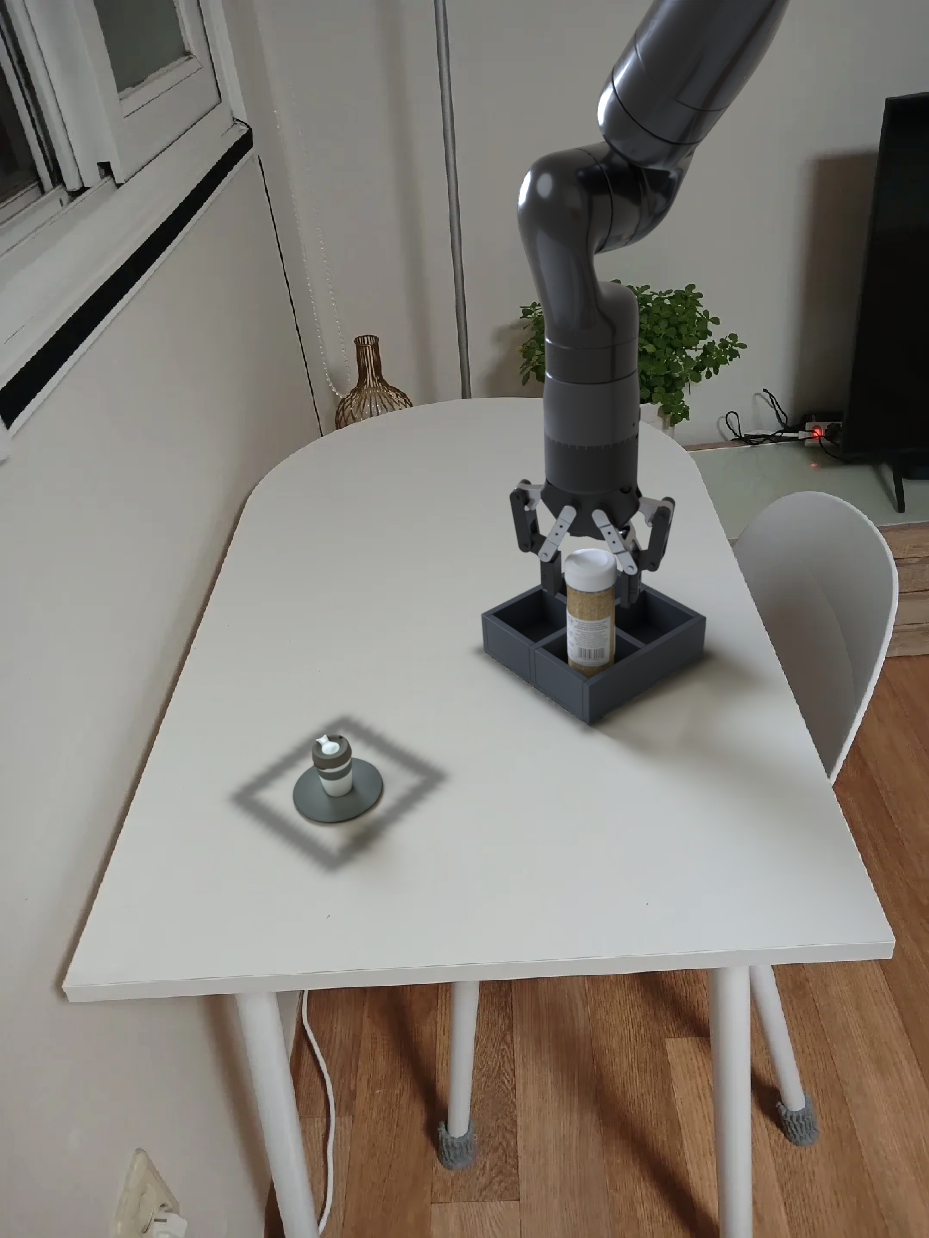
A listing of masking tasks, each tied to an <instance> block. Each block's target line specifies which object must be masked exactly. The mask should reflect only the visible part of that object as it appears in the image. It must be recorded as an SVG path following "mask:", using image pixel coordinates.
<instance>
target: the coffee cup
mask: <svg viewBox="0 0 929 1238" xmlns="http://www.w3.org/2000/svg"><path fill="white" fill-rule="evenodd" d="M352 755H353V750H352V746H351V744H350V742H349V740H348V739H347V738H346V737H345V736H344V735H341V734H324V735H323V736H322V737H321V738H318V739H317V738H316V739H315V742H314V743H313V745H312V748H311V759H312V762H313V763H312V764H313V765H312V766H310V767H309V768H308V769H306V770H305V771H304V772H303V773H302V774H301V775H300V776H299V777H298V779H297V780H296V782H295V784H294V786H293V790H292V801H293V804H294V806H295V808H296V810H297V811H298V812H299V813H300V814H302V815H303V816H304V817H306V818H308V819H310V820H313V821H317V822H323V823H336V822H341V821H342V822H343V821H347V820H350V819H352V818H355V817H357V816H359V815H361V814H363V813H365V812H366V811H367V810H368V809H370V808H372V806H373V805H374V804H375V803H376V802H377V800H378V798H379V796H380V794H381V792H382V788H383V779H382V776H381V773H380V772H379V770H378V769H377V767H376V766H374V765H373V764H372V763H370V762H369V761H367V760H364V759H361V758H359V757H352Z"/></svg>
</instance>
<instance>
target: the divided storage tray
mask: <svg viewBox="0 0 929 1238" xmlns="http://www.w3.org/2000/svg"><path fill="white" fill-rule="evenodd" d="M622 571H623V570H622ZM622 571H621V570H619V568H617V580H616V583H615V623H614V624H615V654H614V665H613V666H611V667H609V668H607V669H606V670H604V671H602V672H601V673H599V674H597V675H596V676H594V677H592V678H590V679H588V678H587V677H585V676H584V675H582V674H581V673H579V672H578V671H576V670H575V669H573V668H572V667H570V666H569V665H568V648H567V585H566V581H565V571H562V584H561V588H560V590H559V591H558V593H557V595H556V596H549V595H547V589H543V587H542V585H541V583H539V584H538V585H535V586H533V587H531V588H530V589H527V590H526V591H524V592H522V593H519V594H518V595H516V596H514V597H512V598H510V599H508V600H505V601H504V602H502V603H500V604H498V605H495V606H494V607H492V608H490V609H488V610H486V611H484V612H482V613H480V617H481V618H480V619H481V620H480V621H481V631H482V643H483V651H484V652H485V653H486V654H488V655H489V656H490V657H491V658H493V659H494V660H496V661H498V662H499V663H500V664H502V665H503V666H505V667H506V668H507V669H509V670H510V671H511V672H513V673H514V674H516V675H517V676H519V677H520V678H522V679H523V680H524V681H525V682H527V683H528V684H530V685H531V686H533V687H534V688H535V689H537V690H538V691H539V692H541V693H542V694H544V695H545V696H546V697H548V698H550V700H552V701H554V702H555V703H557V704H558V705H559V706H560V707H562V708H563V709H565V710H566V711H568V712H569V713H570V714H572V715H573V716H575V717H576V718H577V719H579V720H580V721H582V722H583V723H585V724H586V725H588V726H592V724H594V723H595V722H597V721H599V720H601V719H602V718H604V717H605V716H607V715H608V714H610V713H612V712H614V711H615V710H617V709H619V708H620V707H622V706H623V705H625V704H626V703H628V702H630V701H631V700H633V699H635V698H636V697H638V696H639V695H641V694H643V693H644V692H646V691H648V690H649V689H651V688H652V687H655V686H656V685H657V684H659V683H660V682H663V681H664V680H665V679H666V678H669V677H670V676H672V675H674V674H675V673H676V672H678V671H680V670H681V669H683V668H685V667H686V666H688V665H690V664H691V663H694V661H696V660H698V659H699V658H701V657H702V656H704V650H705V638H706V628H707V616H705V615H703V614H701V613H700V612H698V611H696V610H694V609H692V608H690V607H688V606H687V605H685V604H683V603H681V602H679V601H677V600H675V598H672V597H670V596H668V595H667V594H664V593H663V592H660V591H658V590H657V589H656V588H653V587H651V586H650V585H647V584H646V583H644V582H642V581H641V592H640V594H639V596H638V598H637V600H636V602H635V604H634V603H631V605H630V607H629V609H627V608H621V607H620V589H621V573H622Z"/></svg>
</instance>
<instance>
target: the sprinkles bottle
mask: <svg viewBox="0 0 929 1238" xmlns="http://www.w3.org/2000/svg"><path fill="white" fill-rule="evenodd" d="M617 569H618V561H617V557H615V556H614V554H613V553H612V552H609V551H607V550H605V549H601V548H595V547H594V548H593V547H592V548H591V547H589V548H582V549H577V550H575V551H573V552H572V553H570V554H568V556H567V557H566V558H565V560H564V572H565V581H566V585H567V648H568V665H569V666H570V667H572V668H573V669H575V670H576V671H578V672H579V673H581V674H582V675H584V676H585V677H587V678H588V679H590V678H592V677H594V676H596V675H597V674H599V673H601V672H602V671H604V670H606V669H607V668H609V667H611V666H613V665H614V654H615V624H614V623H615V583H616V580H617Z"/></svg>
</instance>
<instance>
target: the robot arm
mask: <svg viewBox="0 0 929 1238" xmlns="http://www.w3.org/2000/svg"><path fill="white" fill-rule="evenodd" d="M790 3H791V0H652V2H651V3H650V6H649V7H648V8H647V10H646V11H645V13H644V16H643V17H642V19H641V20H640V22H639V23H638V25H637V27H636V28H635V30H634V31H633V33H632V35H631V37H630V38H629V40H628V41H627V43H626V45H625V47H624V49H623V50H622V51H621V53H620V55H619V57H618V58H617V60H616V62H615V63H614V64H613V66H612V68H611V70H610V72H609V73H608V75H607V77H606V79H605V81H604V83H603V85H602V87H601V90H600V92H599V95H598V99H597V103H596V122H597V125H598V126H597V127H598V129H599V132H600V134H601V136H602V137H603V139H604V141H600V142H599V141H598V142H595V143H591V144H586V145H582V146H577V147H573V148H567V149H562V150H558V151H553V152H549V153H547V154H545V155H542V156H540V157H539V158H538V159H536V160H535V161H534V162H533V163H532V164H531V165H530V166H529V168H528V169H527V171H526V173H525V174H524V177H523V178H522V181H521V184H520V188H519V190H518V195H517V200H516V220H517V228H518V232H519V236H520V240H521V243H522V246H523V250H524V253H525V256H526V259H527V263H528V266H529V269H530V272H531V273H530V274H531V276H532V280H533V283H534V288H535V292H536V294H537V297H538V298H537V299H538V301H539V305H540V308H541V312H542V316H543V320H544V321H543V323H544V367H545V372H544V384H543V385H544V386H543V395H542V410H543V411H542V412H543V414H542V415H543V417H542V418H543V444H544V446H543V448H544V450H543V451H544V476H545V480H544V483H543V484H533V483H532V482H531V481H530V480H529V479H526V478H522V479H520V480H519V482H518V483H517V484H516V486H515V487H513V490H512V491H511V492H510V494H509V495H508V497H509V502H510V507H511V509H510V510H511V514H512V518H513V519H512V520H513V525H514V530H515V535H516V541H517V547H518V549H519V551H520V552H522V553H526V554H527V553H533V554H534V555H536V556H537V557H538V559H539V570H540V584H541V585H542V587H543V589H547V595H549V596H556V595H557V593H558V591H559V590H560V588H561V584H562V573H563V570H562V566H563V565H562V550H559V546H560V545H561V543H562V541H563V540H564V538H565V536H566V534H567V533H568V534H569V537H575V538H585V537H588V538H591V539H594V540H596V541H601V542H602V541H603V542H606V544H607V546H608V548H609V550H610V553H611V554H612V555H615V556H616V559H617V560H618V561H619V564H620V566H621V567H622V573H621V589H620V607H621V608H627V609H629V607H630V605H631V603H634V604H635V602H636V600H637V598H638V596H639V594H640V592H641V582H642V578H643V577H642V576H643V571H648V572H650V573H655V572H657V571H658V570H659V568H660V566H661V562H662V560H663V559H664V558H665V555H666V551H667V547H668V543H669V538H670V537H669V536H670V532H671V528H672V523H673V518H674V512H675V508H676V500H675V499H674V498H672V496H664V497H663V498H661V500H659V499H654V498H651V497H647V496H643V493H642V491H641V489H640V487H639V485H638V469H639V467H638V466H639V442H640V441H639V439H640V421H641V418H642V417H641V416H642V415H641V414H642V408H641V390H640V380H639V367H638V366H639V363H638V361H639V331H640V307H639V302H638V297H637V296H636V294H635V293H634V291H633V290H632V289H631V288H629V287H627V286H626V285H624V284H622V283H617V282H614V281H607V280H605V281H604V280H598V279H599V278H598V277H597V273H596V269H595V256H597V255H600V254H604V253H608V252H611V251H614V250H615V251H616V250H619V249H622V248H625V247H629V246H632V245H634V244H636V243H638V242H640V241H641V240H643V239H644V238H646V237H647V236H648V235H650V234H651V233H652V232H653V231H654V230H655V229H656V228H657V227H658V226H659V225H660V224H661V223H662V222H663V220H664V219H666V217H667V215H668V213H669V212H670V211H671V208H672V207H673V205H674V203H675V200H676V199H677V197H678V193H679V191H680V189H681V186H682V184H683V182H684V179H685V178H686V175H687V173H688V172H689V169H690V166H691V164H692V161H693V158H694V154H695V152H696V149H697V148H698V146H700V144H701V143H702V142H703V140H704V139H705V138H706V137H707V136H708V134H710V132H711V131H712V129H713V128H714V127H715V125H716V124H717V123H718V121H719V120H720V119H721V118H722V117H723V115H724V114H725V113H726V112H727V110H728V109H729V108H730V106H731V105H732V104H733V102H734V101H735V99H737V97H738V96H739V94H741V92H742V90H743V89H744V88H745V86H746V84H747V83H748V82H749V80H750V79H751V77H753V74H755V72H756V71H757V69H758V67H759V65H760V64H761V62H762V61H763V60H764V58H765V56H766V54H767V52H768V51H769V49H770V48H771V45H772V44H773V41H774V40H775V37H776V36H777V33H778V31H779V29H780V27H781V24H782V22H783V20H784V18H785V15H786V12H787V10H788V7H789V5H790ZM540 500H541V501H542V503H543V504H544V505H545V507H546V508H547V509H548V511H549V512H550V514H551V515H552V516H553V518H554V519H555V520H556V521H555V522H554V524H553V526H552V527H551V529H550V531H549V533H548V535H547V536H546V535H544V534H542V533H541V531H540V523H539V518H538V513H537V507H538V505H539V504H540ZM638 512H640V513H641V514H642V515H643V518H644V523H645V524H646V526H647V528H651V529H650V534H649V540H648V544H647V549H642V546H641V544H640V542H639V540H638V538H637V532H636V528H635V526H634V524H633V522H632V520H631V519H632V518H633V517H634V516H635V515H636V514H637V513H638Z"/></svg>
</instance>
